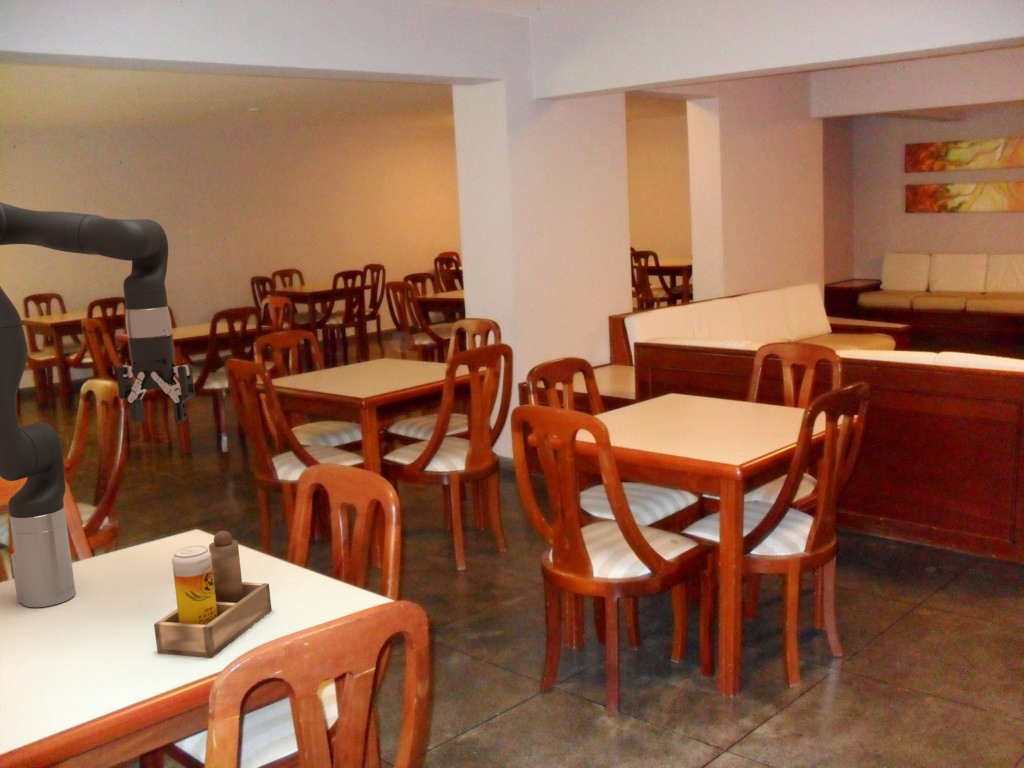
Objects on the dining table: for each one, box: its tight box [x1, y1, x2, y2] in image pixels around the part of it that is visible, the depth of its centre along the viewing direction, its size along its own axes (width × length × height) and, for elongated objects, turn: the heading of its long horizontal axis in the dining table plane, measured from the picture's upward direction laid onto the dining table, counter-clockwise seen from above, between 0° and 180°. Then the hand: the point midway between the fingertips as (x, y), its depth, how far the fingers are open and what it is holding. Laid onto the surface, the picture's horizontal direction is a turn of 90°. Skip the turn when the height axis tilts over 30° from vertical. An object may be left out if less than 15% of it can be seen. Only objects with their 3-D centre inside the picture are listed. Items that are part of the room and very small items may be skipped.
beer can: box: [171, 544, 218, 625], centre depth 163 cm, size 6×6×15 cm
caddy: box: [153, 530, 272, 658], centre depth 167 cm, size 10×19×16 cm, turn 164°
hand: (160, 422), depth 179 cm, fingers open, 8 cm apart
